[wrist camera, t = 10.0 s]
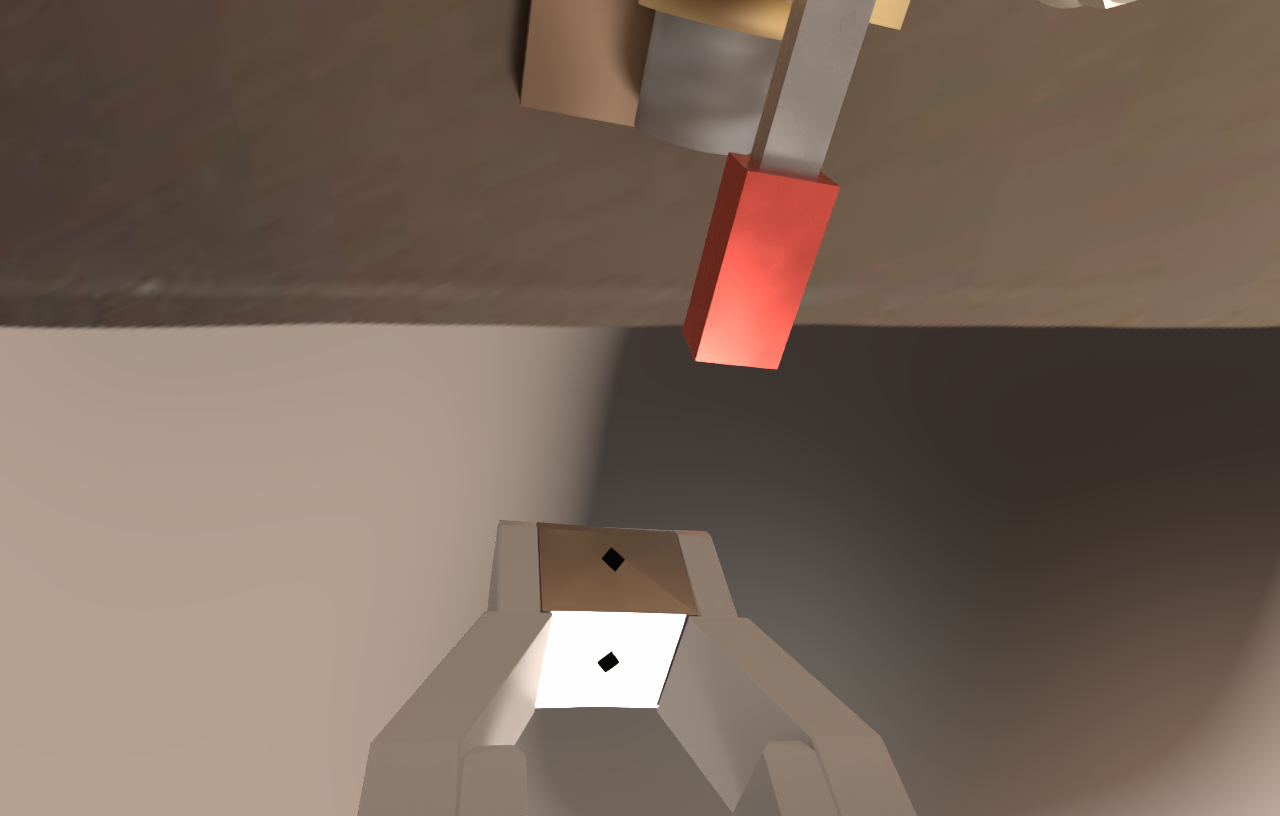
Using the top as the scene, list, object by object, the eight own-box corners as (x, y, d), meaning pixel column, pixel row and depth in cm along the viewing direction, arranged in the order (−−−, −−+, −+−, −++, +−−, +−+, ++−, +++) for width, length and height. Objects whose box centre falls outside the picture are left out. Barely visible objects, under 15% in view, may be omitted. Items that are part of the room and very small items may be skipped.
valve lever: (831, -280, 16) (868, -302, 15) (953, -238, 17) (1001, -254, 16) (676, 331, 25) (689, 360, 23) (764, 340, 25) (782, 369, 24)
